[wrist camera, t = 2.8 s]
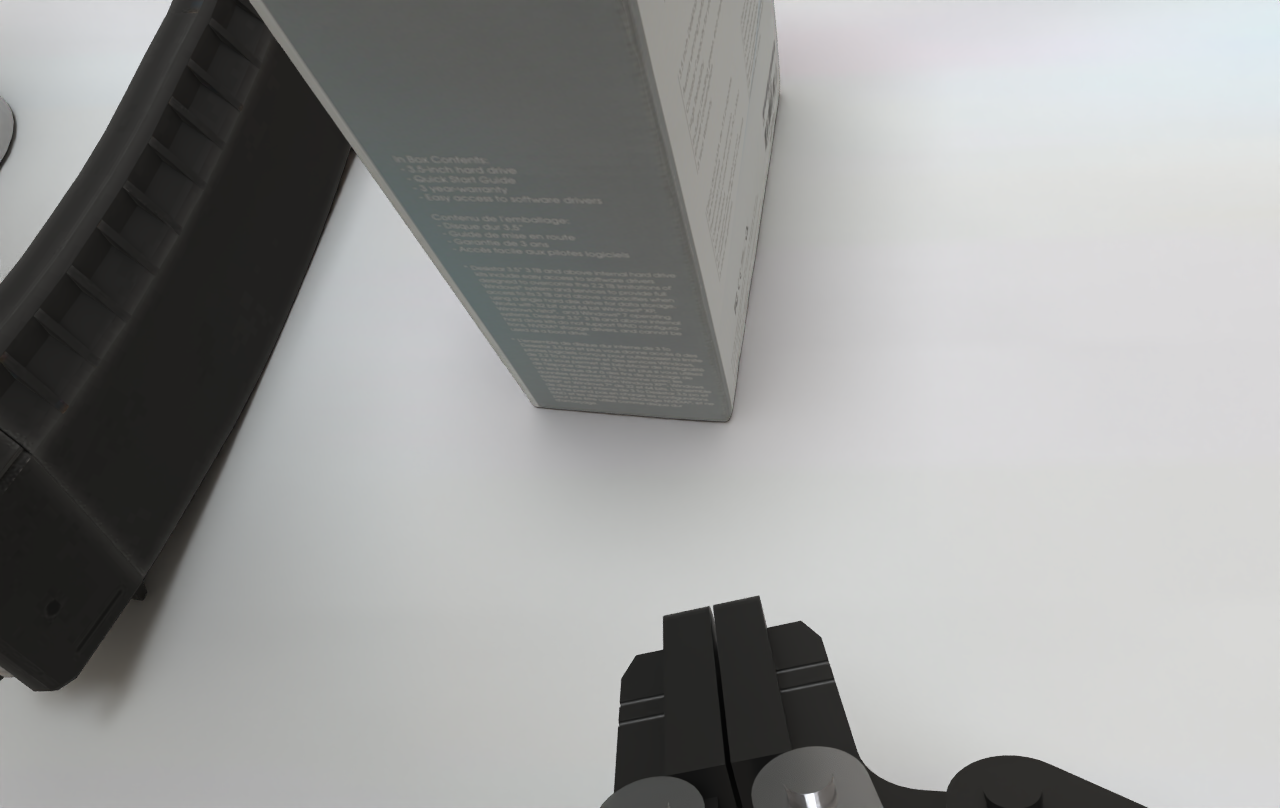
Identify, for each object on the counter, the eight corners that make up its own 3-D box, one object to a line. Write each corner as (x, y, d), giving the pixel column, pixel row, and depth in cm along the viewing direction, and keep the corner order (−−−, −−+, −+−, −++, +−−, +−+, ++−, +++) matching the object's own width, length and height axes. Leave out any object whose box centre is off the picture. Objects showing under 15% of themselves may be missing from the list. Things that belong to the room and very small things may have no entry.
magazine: (262, -176, 36) (-551, 311, 17) (332, -181, 36) (-439, 324, 16) (395, 185, 49) (10, 703, 30) (449, 188, 48) (90, 722, 29)
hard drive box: (604, 91, 39) (418, -541, 21) (782, 88, 37) (741, -605, 19) (524, 415, 32) (163, -105, 15) (736, 431, 30) (611, -141, 13)
